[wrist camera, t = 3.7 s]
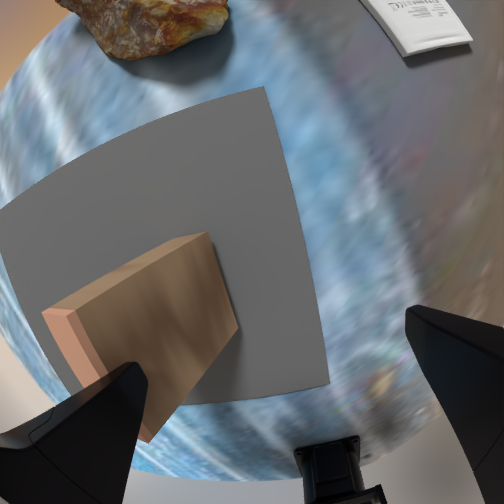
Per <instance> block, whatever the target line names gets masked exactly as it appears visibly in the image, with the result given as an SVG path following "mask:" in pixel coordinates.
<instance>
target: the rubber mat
mask: <svg viewBox="0 0 504 504" xmlns="http://www.w3.org/2000/svg"><path fill="white" fill-rule="evenodd" d="M207 231H208V234H209V237H210V240H211V244H212V247H213V250H214V253H215V257H216V260H217V263H218V266H219V270H220V273H221V276H222V279H223V282H224V285H225V288H226V292H227V295H228V298H229V301H230V304H231V307H232V310H233V313H234V316H235V319H236V322H237V325H238V329H237V330H236V332H235V333H234V335H233V336H232V337H231V339H230V340H229V341H228V343H227V344H226V345H225V347H224V348H223V349H222V351H221V352H220V353H219V355H218V356H217V357H216V359H215V360H214V361H213V363H212V364H211V365H210V366H209V368H208V369H207V370H206V372H205V373H204V374H203V376H202V377H201V378H200V380H199V381H198V382H197V383H196V385H195V386H194V387H193V389H192V390H191V391H190V392H189V394H188V395H187V396H186V398H185V399H184V400H183V401H182V403H181V404H180V405H192V404H207V403H219V402H229V401H237V400H245V399H253V398H260V397H266V396H272V395H278V394H284V393H289V392H294V391H299V390H304V389H309V388H313V387H317V386H322V385H326V384H330V379H329V372H328V365H327V358H326V352H325V346H324V340H323V333H322V328H321V322H320V316H319V310H318V305H317V300H316V294H315V289H314V284H313V279H312V274H311V269H310V264H309V259H308V254H307V250H306V245H305V240H304V236H303V231H302V227H301V223H300V218H299V214H298V210H297V206H296V201H295V197H294V193H293V189H292V185H291V181H290V177H289V173H288V169H287V166H286V162H285V158H284V154H283V151H282V147H281V143H280V140H279V136H278V132H277V129H276V125H275V122H274V119H273V115H272V112H271V108H270V105H269V102H268V98H267V95H266V92H265V89H264V86H263V87H258V88H254V89H250V90H246V91H242V92H238V93H235V94H231V95H227V96H224V97H220V98H217V99H214V100H210V101H207V102H204V103H201V104H198V105H195V106H192V107H189V108H186V109H183V110H181V111H178V112H175V113H172V114H170V115H167V116H164V117H162V118H159V119H157V120H154V121H152V122H150V123H147V124H145V125H142V126H140V127H138V128H136V129H133V130H131V131H129V132H127V133H125V134H122V135H120V136H118V137H116V138H114V139H112V140H110V141H108V142H106V143H104V144H102V145H100V146H98V147H96V148H94V149H92V150H90V151H89V152H87V153H85V154H83V155H81V156H80V157H78V158H76V159H74V160H73V161H71V162H69V163H67V164H66V165H64V166H62V167H61V168H59V169H57V170H56V171H54V172H53V173H51V174H50V175H48V176H46V177H45V178H43V179H42V180H40V181H39V182H37V183H36V184H34V185H33V186H31V187H30V188H29V189H27V190H26V191H24V192H23V193H22V194H20V195H19V196H17V197H16V198H15V199H13V200H12V201H11V202H10V203H8V204H7V205H6V206H4V207H3V208H2V209H1V210H0V252H1V255H2V258H3V261H4V264H5V267H6V270H7V273H8V276H9V279H10V281H11V284H12V287H13V289H14V292H15V294H16V297H17V299H18V301H19V304H20V306H21V308H22V310H23V313H24V315H25V317H26V319H27V321H28V323H29V325H30V327H31V329H32V331H33V333H34V335H35V337H36V339H37V341H38V343H39V345H40V347H41V348H42V350H43V352H44V354H45V355H46V357H47V359H48V361H49V362H50V364H51V366H52V367H53V369H54V370H55V372H56V374H57V375H58V377H59V378H60V380H61V381H62V383H63V384H64V386H65V387H66V389H67V390H68V392H69V393H70V395H71V396H72V395H74V394H76V393H77V392H79V391H81V390H82V389H84V387H83V386H82V384H81V383H80V381H79V380H78V378H77V377H76V375H75V374H74V372H73V370H72V369H71V367H70V365H69V364H68V362H67V360H66V359H65V357H64V355H63V354H62V352H61V350H60V348H59V346H58V345H57V343H56V341H55V339H54V337H53V335H52V333H51V331H50V329H49V327H48V325H47V323H46V321H45V319H44V317H43V315H42V313H41V312H43V311H45V310H46V309H48V308H50V307H51V306H53V305H54V304H56V303H58V302H59V301H61V300H63V299H64V298H66V297H68V296H69V295H71V294H73V293H75V292H76V291H78V290H80V289H81V288H83V287H85V286H87V285H88V284H90V283H92V282H94V281H95V280H97V279H99V278H101V277H102V276H104V275H106V274H108V273H110V272H111V271H113V270H115V269H117V268H119V267H120V266H122V265H124V264H126V263H128V262H130V261H131V260H133V259H135V258H137V257H139V256H141V255H143V254H145V253H146V252H148V251H150V250H152V249H154V248H156V247H158V246H160V245H162V244H164V243H166V242H167V241H169V240H171V239H174V238H178V237H183V236H188V235H193V234H197V233H202V232H207Z"/></svg>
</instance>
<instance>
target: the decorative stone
mask: <svg viewBox="0 0 504 504" xmlns="http://www.w3.org/2000/svg"><path fill="white" fill-rule="evenodd" d="M55 2H57V3H58V4H59V5H60V6H62V7H64V8H67V9H68V10H69V11H71V12H75V13H76V14H77V15H78V16H79V17H80V18H81V23H82V24H83V25H84V26H85V27H86V28H87V29H88V30H89V31H90V32H91V33H92V34H93V36H94V38H95V40H96V42H97V43H98V45H99V46H100V48H101V49H102V50H103V51H104V52H105V53H106V54H107V55H109V56H111V57H115V58H122V59H124V60H128V61H129V60H136V59H141V58H144V57H146V56H152V55H163V54H167V53H168V52H170V51H172V50H175V49H176V48H177V47H180V46H182V45H185V44H187V43H189V42H191V41H193V40H195V39H198V38H201V37H204V36H209V35H213V34H216V33H218V32H219V31H220V30H221V28H222V27H223V25H224V23H225V22H226V20H227V19H228V17H229V14H228V11H227V6H228V5H227V2H228V0H55Z"/></svg>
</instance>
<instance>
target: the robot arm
mask: <svg viewBox="0 0 504 504" xmlns="http://www.w3.org/2000/svg"><path fill="white" fill-rule="evenodd" d="M405 333H406V337H407V339H408V341H409V343H410V345H411V347H412V350H413V352H414V354H415V356H416V359H417V361H418V363H419V366H420V368H421V370H422V372H423V374H424V376H425V378H426V379H427V381H428V383H429V384H430V386H431V388H432V390H433V392H434V393H435V395H436V397H437V399H438V401H439V402H440V404H441V406H442V408H443V410H444V412H445V414H446V416H447V418H448V419H449V421H450V423H451V425H452V427H453V429H454V431H455V433H456V435H457V438H458V440H459V441H460V444H461V446H462V448H463V450H464V452H465V455H466V457H467V459H468V461H469V464H470V466H471V468H472V470H473V471H474V472H473V473H474V476H475V478H476V480H477V483H478V486H479V488H480V491H481V493H482V496H483V499H484V502H485V504H504V329H503V327H500V326H496V325H492V324H488V323H485V322H481V321H477V320H473V319H470V318H466V317H462V316H459V315H455V314H451V313H447V312H444V311H440V310H436V309H433V308H429V307H425V306H422V305H414V306H411V307H408V308H407V309H406V313H405ZM147 391H148V379H147V377H146V375H145V373H144V372H143V370H142V368H141V366H140V365H139V363H138V362H136V361H130V362H125V363H124V364H122V365H121V366H119V367H117V368H116V369H114V370H113V371H111V372H110V373H108V374H106V375H105V376H103V377H102V378H100V379H98V380H97V381H95V382H94V383H92V384H90V385H89V386H87V387H86V388H84V389H82V390H81V391H79V392H77V393H76V394H74V395H72V396H71V397H69V398H68V399H66V400H64V401H63V402H61V403H59V404H58V405H56V406H55V407H53V408H51V409H49V410H48V411H46V412H44V413H42V414H41V415H39V416H37V417H36V418H33V419H31V420H29V421H27V422H25V423H23V424H22V425H20V426H17V427H16V428H13V429H11V430H9V431H7V432H4V433H1V434H0V504H122V502H123V497H124V493H125V487H126V483H127V479H128V475H129V471H130V466H131V462H132V458H133V454H134V450H135V446H136V442H137V439H138V435H139V431H140V427H141V424H142V419H143V414H144V408H145V402H146V396H147ZM294 457H295V459H296V462H297V465H298V468H299V471H300V473H301V476H302V477H303V486H304V501H305V504H387V501H386V498H385V495H384V492H383V489H382V486H381V484H379V485H376V486H375V487H372V488H370V489H366V490H365V487H364V483H363V479H362V474H361V470H360V466H359V460H360V437H359V436H352V437H349V438H345V439H341V440H337V441H333V442H328V443H324V444H319V445H314V446H309V447H304V448H298V449H295V450H294Z"/></svg>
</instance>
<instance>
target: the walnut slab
mask: <svg viewBox="0 0 504 504" xmlns="http://www.w3.org/2000/svg"><path fill="white" fill-rule="evenodd" d="M41 313H42V315H43V317H44V319H45V321H46V323H47V325H48V327H49V329H50V331H51V333H52V335H53V337H54V339H55V341H56V343H57V345H58V346H59V348H60V350H61V352H62V354H63V355H64V357H65V359H66V360H67V362H68V364H69V365H70V367H71V369H72V370H73V372H74V374H75V375H76V377H77V378H78V380H79V381H80V383H81V384H82V386H83V387H84V388H86V387H87V386H89V385H90V384H92V383H94V382H95V381H97V380H98V379H100V378H102V377H103V376H105V375H106V374H108V373H110V372H111V371H113V370H114V369H116V368H117V367H119V366H121V365H122V364H124V363H125V362H130V361H136V362H138V363H139V365H140V366H141V368H142V370H143V372H144V373H145V375H146V377H147V379H148V391H147V396H146V402H145V408H144V414H143V419H142V424H141V427H140V431H139V435H138V439H139V440H141V441H144V442H146V443H149V442H150V441H151V440H152V439H153V437H154V436H155V435H156V434H157V433H158V431H159V430H160V429H161V428H162V426H163V425H164V424H165V423H166V421H167V420H168V419H169V418H170V416H171V415H172V414H173V413H174V411H175V410H176V409H177V408H178V406H179V405H180V404H181V403H182V401H183V400H184V399H185V398H186V396H187V395H188V394H189V392H190V391H191V390H192V389H193V387H194V386H195V385H196V383H197V382H198V381H199V380H200V378H201V377H202V376H203V374H204V373H205V372H206V370H207V369H208V368H209V366H210V365H211V364H212V363H213V361H214V360H215V359H216V357H217V356H218V355H219V353H220V352H221V351H222V349H223V348H224V347H225V345H226V344H227V343H228V341H229V340H230V339H231V337H232V336H233V335H234V333H235V332H236V330H237V329H238V325H237V322H236V319H235V316H234V313H233V310H232V307H231V304H230V301H229V298H228V295H227V292H226V288H225V285H224V282H223V279H222V276H221V273H220V270H219V266H218V263H217V260H216V257H215V253H214V250H213V247H212V244H211V240H210V237H209V234H208V231H207V232H202V233H197V234H193V235H188V236H183V237H178V238H174V239H171V240H169V241H167V242H166V243H164V244H162V245H160V246H158V247H156V248H154V249H152V250H150V251H148V252H146V253H145V254H143V255H141V256H139V257H137V258H135V259H133V260H131V261H130V262H128V263H126V264H124V265H122V266H120V267H119V268H117V269H115V270H113V271H111V272H110V273H108V274H106V275H104V276H102V277H101V278H99V279H97V280H95V281H94V282H92V283H90V284H88V285H87V286H85V287H83V288H81V289H80V290H78V291H76V292H75V293H73V294H71V295H69V296H68V297H66V298H64V299H63V300H61V301H59V302H58V303H56V304H54V305H53V306H51V307H50V308H48V309H46V310H45V311H43V312H41Z"/></svg>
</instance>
